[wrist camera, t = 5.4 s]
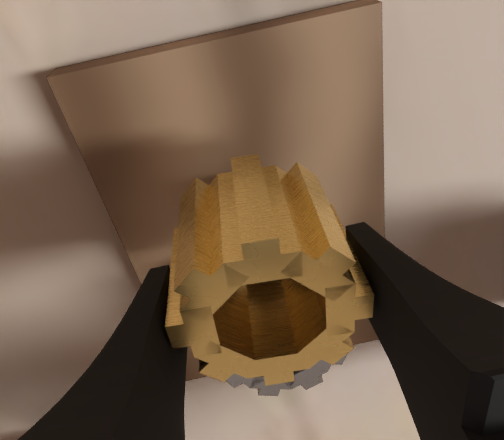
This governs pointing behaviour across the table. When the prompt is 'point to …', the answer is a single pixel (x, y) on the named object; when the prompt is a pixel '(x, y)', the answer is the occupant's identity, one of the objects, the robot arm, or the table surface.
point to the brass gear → (263, 275)
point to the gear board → (233, 121)
